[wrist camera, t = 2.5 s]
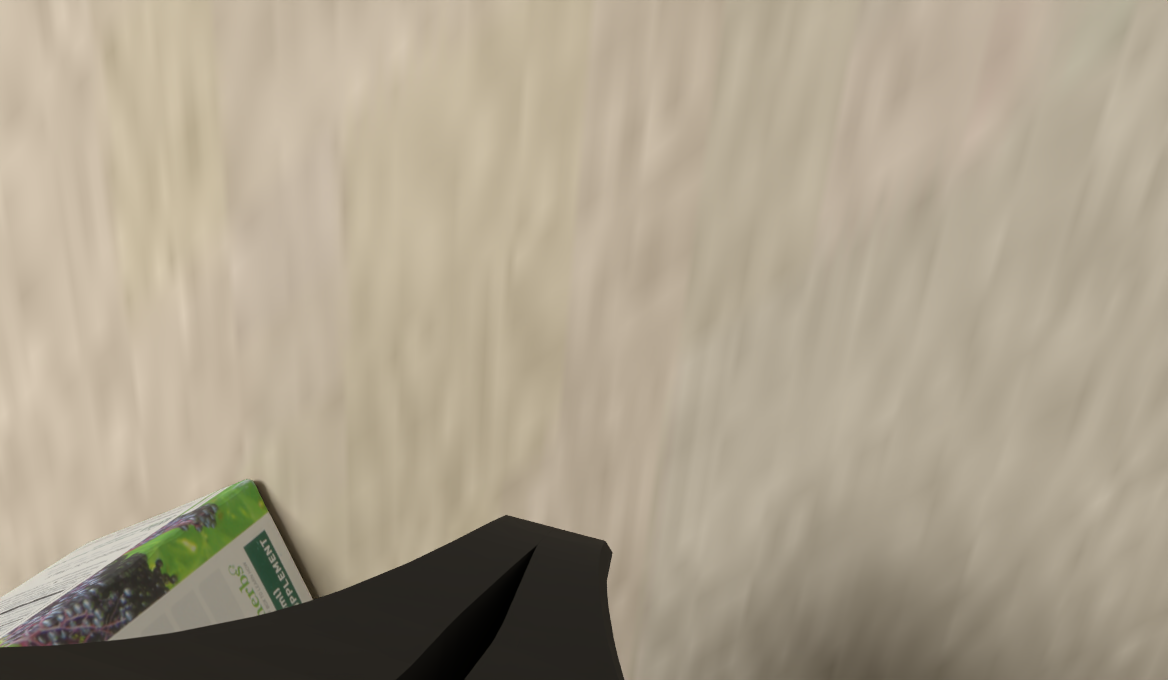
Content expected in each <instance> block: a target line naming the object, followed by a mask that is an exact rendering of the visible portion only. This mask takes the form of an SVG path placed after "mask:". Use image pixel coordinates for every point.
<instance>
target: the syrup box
mask: <svg viewBox="0 0 1168 680" xmlns="http://www.w3.org/2000/svg"><path fill="white" fill-rule="evenodd" d="M311 600H313V599H312V597H311V594H310V592H309V590H308V588H307V586H306V585H305V583H304V581H303V579H302V577H301V575H300V573H299V571H298V569H297V567H296V565H295V563H294V561H293V559H292V557H291V555H290V553H289V551H288V549H287V547H286V545H285V543H284V541H283V539H282V537H281V535H280V533H279V531H278V529H277V527H276V525H275V523H274V521H273V519H272V517H271V515H270V514H269V512H268V510H267V508H266V506H265V504H264V502H263V500H262V498H261V496H260V494H259V492H258V490H257V487H256V485H255V484H254V482H253V481H252V480H250V479H246V480H243V481H241V482H238V483H236V484H233V485H230V486H228V487H225V488H222V489H220V490H218V491H215V492H213V493H210V494H208V495H206V496H203V497H201V498H198V499H196V500H194V501H191V502H189V503H186V504H184V505H182V506H179V507H177V508H174V509H172V510H170V511H167V512H165V513H162V514H160V515H157V516H155V517H152V518H149V519H147V520H144V521H142V522H139V523H137V524H134V525H131V526H129V527H126V528H124V529H121V530H119V531H116V532H113V533H111V534H108V535H106V536H103V537H101V538H98V539H96V540H93V541H91V542H89V543H86V544H85V545H83V546H81V547H79V548H78V549H76V550H74V551H73V552H71V553H70V554H68V555H67V556H65V557H63V558H62V559H60V560H59V561H57V562H56V563H54V564H53V565H51V566H49V567H48V568H46V569H45V570H43V571H41V572H40V573H38V574H37V575H35V576H34V577H32V578H31V579H29V580H27V581H26V582H24V583H23V584H21V585H20V586H18V587H16V588H15V589H13V590H12V591H10V592H9V593H7V594H5V595H4V596H2V597H1V598H0V647H21V646H51V645H66V644H80V643H90V642H101V641H111V640H121V639H130V638H137V637H145V636H152V635H160V634H167V633H173V632H179V631H184V630H189V629H194V628H199V627H204V626H209V625H214V624H219V623H224V622H229V621H234V620H239V619H244V618H249V617H254V616H258V615H262V614H266V613H270V612H273V611H277V610H280V609H284V608H287V607H291V606H294V605H298V604H301V603H304V602H308V601H311Z"/></svg>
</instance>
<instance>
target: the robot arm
mask: <svg viewBox="0 0 1168 680" xmlns="http://www.w3.org/2000/svg"><path fill="white" fill-rule="evenodd" d="M611 558H612V551H611V549H610V548H609V546H608V545H607V543H606V541H603V540H599V539H596V538H592V537H588V536H584V535H580V534H577V533H573V532H569V531H565V530H561V529H557V528H554V527H550V526H546V525H542V524H538V523H535V522H531V521H527V520H523V519H519V518H516V517H512V516H508V515H505V516H503V517H501V518H498V519H496V520H494V521H492V522H490V523H488V524H486V525H484V526H482V527H480V528H478V529H476V530H474V531H472V532H470V533H468V534H466V535H464V536H462V537H460V538H459V539H457V540H455V541H453V542H451V543H448V544H446V545H444V546H442V547H440V548H438V549H436V550H434V551H432V552H430V553H428V554H426V555H424V556H422V557H420V558H417V559H415V560H413V561H411V562H409V563H407V564H404V565H402V566H400V567H397V568H395V569H392V570H390V571H387V572H385V573H383V574H380V575H378V576H375V577H373V578H370V579H368V580H366V581H363V582H361V583H358V584H356V585H353V586H351V587H349V588H346V589H343V590H341V591H338V592H335V593H332V594H329V595H326V596H323V597H320V598H317V599H314V600H311V601H308V602H304V603H301V604H298V605H294V606H291V607H287V608H284V609H280V610H277V611H273V612H270V613H266V614H262V615H258V616H254V617H249V618H244V619H239V620H234V621H229V622H224V623H219V624H214V625H209V626H204V627H199V628H194V629H189V630H184V631H179V632H173V633H167V634H160V635H152V636H145V637H137V638H130V639H121V640H111V641H101V642H90V643H80V644H66V645H51V646H21V647H0V680H624V677H623V674H622V670H621V666H620V663H619V659H618V656H617V651H616V647H615V642H614V638H613V632H612V626H611V620H610V614H609V608H608V598H607V577H608V572H609V567H610V562H611Z"/></svg>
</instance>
